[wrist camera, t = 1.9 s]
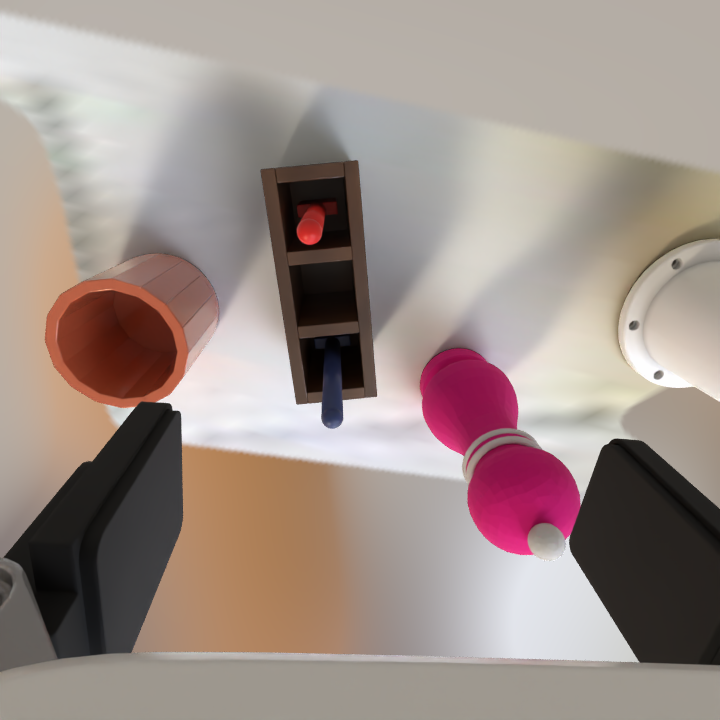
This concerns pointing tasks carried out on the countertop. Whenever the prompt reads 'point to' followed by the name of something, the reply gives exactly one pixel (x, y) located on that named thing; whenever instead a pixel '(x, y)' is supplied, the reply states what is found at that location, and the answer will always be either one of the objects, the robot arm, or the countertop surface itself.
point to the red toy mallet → (314, 218)
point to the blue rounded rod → (332, 378)
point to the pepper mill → (499, 456)
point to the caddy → (322, 276)
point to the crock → (132, 329)
